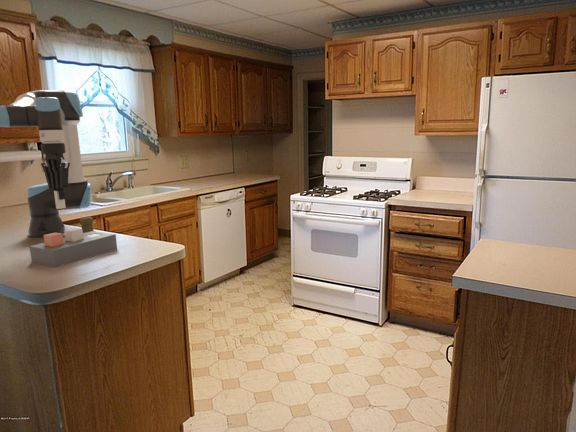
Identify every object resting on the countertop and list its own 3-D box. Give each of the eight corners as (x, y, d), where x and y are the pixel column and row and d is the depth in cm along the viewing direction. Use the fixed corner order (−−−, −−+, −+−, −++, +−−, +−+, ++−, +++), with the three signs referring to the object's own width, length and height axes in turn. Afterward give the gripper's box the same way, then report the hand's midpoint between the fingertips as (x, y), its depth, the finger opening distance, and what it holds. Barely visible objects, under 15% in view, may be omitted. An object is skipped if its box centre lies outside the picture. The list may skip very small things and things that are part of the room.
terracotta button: (44, 245, 155) (43, 235, 154) (56, 242, 158) (55, 232, 158) (52, 247, 153) (50, 236, 152) (63, 244, 156) (62, 233, 156)
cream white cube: (65, 240, 162) (64, 230, 161) (76, 238, 165) (74, 227, 165) (72, 241, 159) (71, 231, 159) (83, 239, 163) (82, 228, 162)
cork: (92, 239, 187) (89, 215, 185) (99, 241, 183) (96, 216, 181) (78, 242, 182) (75, 217, 180) (85, 245, 178) (82, 219, 176)
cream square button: (85, 246, 169) (84, 236, 168) (95, 243, 173) (94, 233, 172) (93, 247, 167) (91, 237, 166) (102, 244, 171) (101, 234, 170)
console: (31, 262, 156) (29, 246, 155) (94, 245, 178) (92, 230, 177) (55, 267, 149) (53, 250, 148) (117, 248, 171) (115, 234, 170)
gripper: (30, 143, 152) (39, 209, 156) (54, 142, 146) (63, 211, 150) (50, 142, 158) (59, 205, 163) (74, 142, 152) (81, 207, 157)
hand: (60, 208), depth 156 cm, fingers closed
